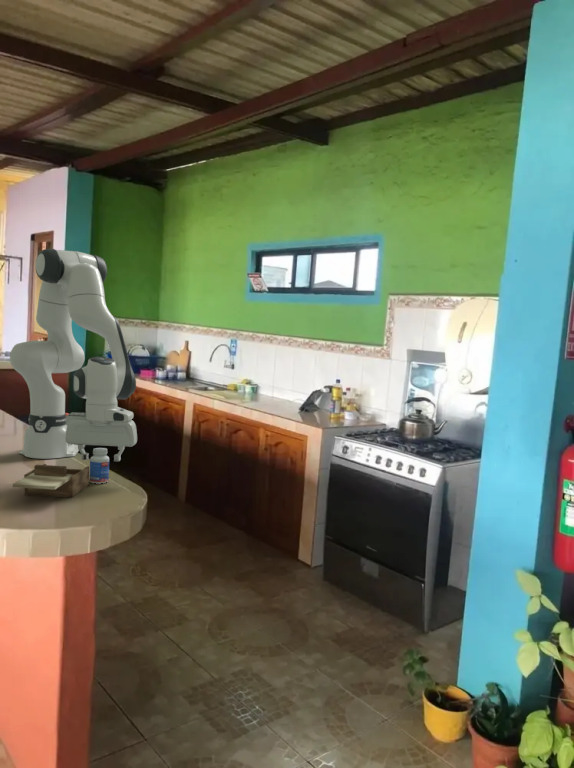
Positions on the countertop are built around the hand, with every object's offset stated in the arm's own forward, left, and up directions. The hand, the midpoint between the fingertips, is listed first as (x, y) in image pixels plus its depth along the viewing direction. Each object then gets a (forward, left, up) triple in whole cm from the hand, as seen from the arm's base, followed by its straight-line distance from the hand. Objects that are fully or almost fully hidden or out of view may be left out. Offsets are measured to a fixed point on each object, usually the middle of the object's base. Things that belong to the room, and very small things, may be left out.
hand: (101, 460), depth 185 cm
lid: (+20, -9, -2) cm, 22 cm away
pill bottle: (0, -1, -7) cm, 7 cm away
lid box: (+11, -9, -7) cm, 15 cm away
